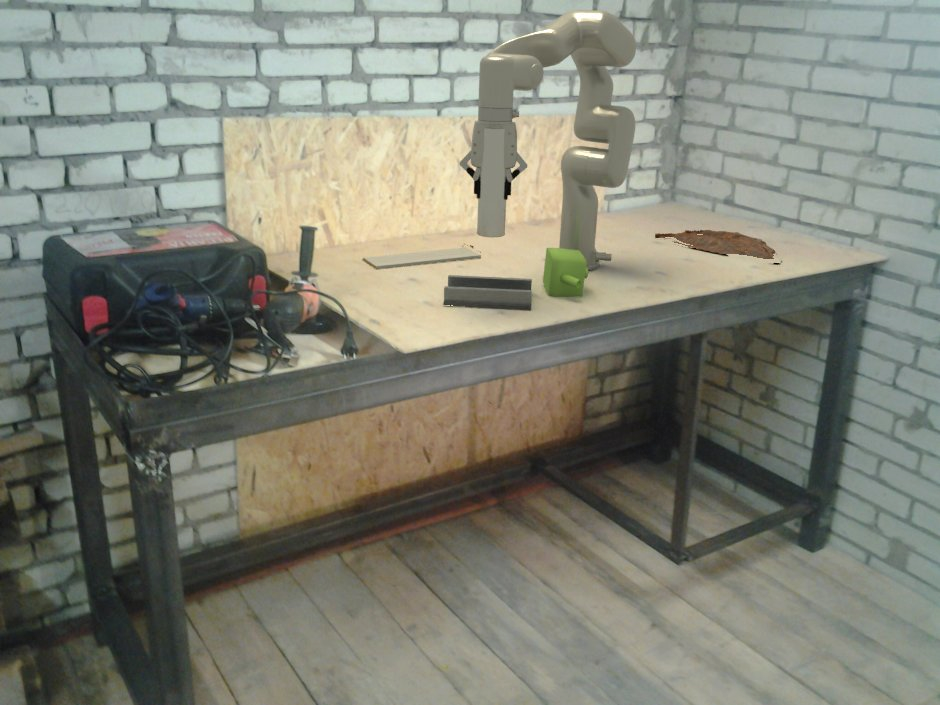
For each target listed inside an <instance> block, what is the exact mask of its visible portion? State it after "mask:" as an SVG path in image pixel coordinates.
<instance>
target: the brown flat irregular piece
mask: <svg viewBox="0 0 940 705" xmlns="http://www.w3.org/2000/svg"><path fill="white" fill-rule="evenodd" d="M697 234H703V235H697ZM665 237H674V238H676V239H677V240H679V241H681V242H683V243H686V244H690V245H685V244H682V243H679V242H677V241H673V242H674V243H678V244H682V245H685V246H688V247H692V248H696V249H697V250H703V251H706V252H707V251H708V252H709V253H710V252H711V253H717V254H719V255H721V254H739V255H747V256H753V257H757V258H763V259H774V258H773V256H774V255H773V254H775V253H776V250H775V249H774V248H772V247H770V246H769V245H768V244H767V243H766V241H765V240H763V239H761V238H757V237H752V236H748V235H745V234H742V233H740V232H738V231H735V232H734V231H733V232H732V231H725V230H719V231H716V230H710V229H705V230H703V229H700V230H699V229H698V230H695V229H694V230H688V229H687V230H686V229H685V231H683V232H678V233H672V232H670V233H660V232H659V233H654V239H655V238H665ZM665 239H666V238H665ZM691 245H693V246H691ZM696 249H695V250H696ZM776 254H777V253H776Z"/></svg>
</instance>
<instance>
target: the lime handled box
mask: <svg viewBox="0 0 940 705" xmlns="http://www.w3.org/2000/svg"><path fill="white" fill-rule="evenodd" d="M586 264H587V262H586V260H585V258H584V256H583V255H582V253H581V252H580V251H579V250H572V249H562V248H559V247H547V248H546V251H545V259H544V268H543V277H542V284H543V286H544V289H545V292H546V293H547V295H548V296H555V297H575V296H581V297H583V292H584V285H585V280H586V279H588V277H589V270H588V269H587V268H586Z"/></svg>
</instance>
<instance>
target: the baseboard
mask: <svg viewBox="0 0 940 705" xmlns="http://www.w3.org/2000/svg"><path fill="white" fill-rule="evenodd" d="M465 245H466V244H465V243H464V246H465ZM464 246H463V247H457V248H456V247H455V248H447V249H436V250H425V251H418V252H417V251H416V252H415V251H414V252H408V253H399V254H398V253H397V254H388V255H387V254H386V255H378V256H377V255H376V256H367V257H363V258H361V261H363V262H365V263H366V264H368V265H369V266H371V267H372V268H374V269H375V268H376V269H375V270H382V269H381V268H385V269H392V268H393V267H395V268H403V266H404V267H413V266H419V265H420V266H421V264H423V265H429V264H428V263H432V264H438V263H437V262H442V263H446V262H445V261H451V262H457V261H456V260H460V261H465V260H464V259H470V260H474V259H473V258H479V259H481V258H482V256H481V253H482V251H479V253H480V254H479V253H477V252H475V251H473V250H472V249H475V247H474V245H468V244H467V245H466V247H464ZM467 246H468V247H470V248H472V249H470V248H467ZM412 265H413V266H412ZM393 269H394V268H393Z"/></svg>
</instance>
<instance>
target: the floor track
mask: <svg viewBox="0 0 940 705" xmlns="http://www.w3.org/2000/svg"><path fill="white" fill-rule="evenodd" d="M532 282H533V279H532V278H519V277H502V276H501V277H499V276H497V277H496V276H478V275H460V274H459V275H458V274H457V275H456V274H455V275H454V274H453V275H452V274H449V275H447V285H445V286H443V305H450V306H449V307H453V306H465V307H464V308H473V307H477V308H478V309H494V310H495V309H498V310H517V311H531V309H532V292H533V291H532V287H533V286H532V285H533V284H532ZM443 305H442V306H443ZM451 305H453V306H451ZM477 308H476V309H477Z"/></svg>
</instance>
